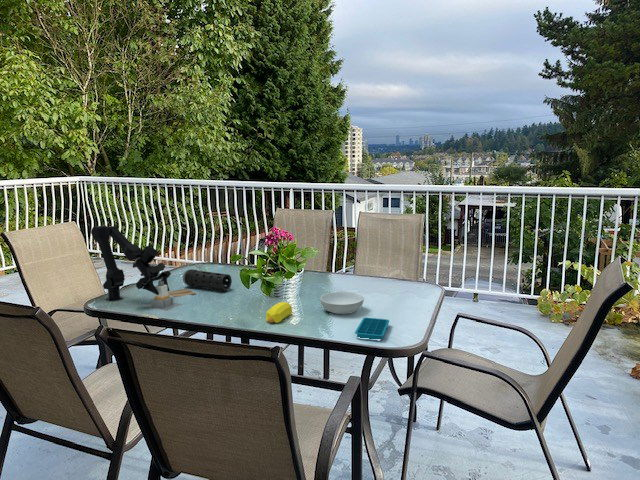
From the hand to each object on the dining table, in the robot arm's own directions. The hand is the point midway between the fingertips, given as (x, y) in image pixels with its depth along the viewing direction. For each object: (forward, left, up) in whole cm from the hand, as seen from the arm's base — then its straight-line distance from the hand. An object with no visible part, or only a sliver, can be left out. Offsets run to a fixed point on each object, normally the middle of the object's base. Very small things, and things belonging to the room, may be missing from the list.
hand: (163, 292), depth 229 cm
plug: (-1, -1, -7) cm, 7 cm away
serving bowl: (+61, +63, -8) cm, 88 cm away
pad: (-16, +15, -8) cm, 24 cm away
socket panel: (-1, -1, -8) cm, 8 cm away
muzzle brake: (-17, +31, -8) cm, 37 cm away
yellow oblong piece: (+50, +34, -8) cm, 61 cm away
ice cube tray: (+90, +54, -8) cm, 105 cm away
